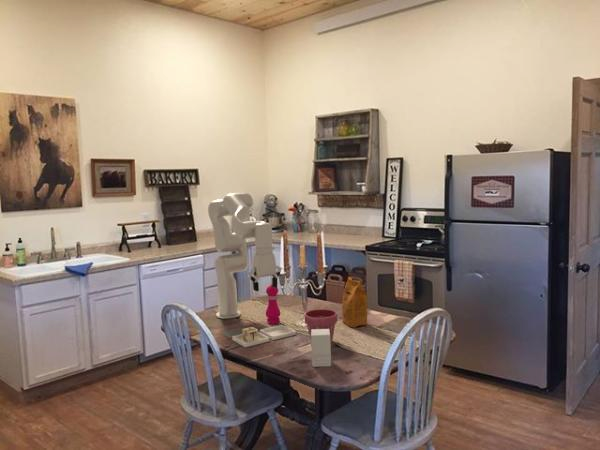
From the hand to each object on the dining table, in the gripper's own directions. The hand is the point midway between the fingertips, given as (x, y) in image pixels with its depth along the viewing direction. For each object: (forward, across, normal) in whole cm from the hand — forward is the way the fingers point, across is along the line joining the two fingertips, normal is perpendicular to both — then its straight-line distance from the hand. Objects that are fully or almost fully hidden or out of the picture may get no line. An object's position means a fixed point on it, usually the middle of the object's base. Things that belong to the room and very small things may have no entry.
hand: (265, 288), depth 229 cm
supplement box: (+23, 0, +39) cm, 45 cm away
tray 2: (+22, -5, 0) cm, 23 cm away
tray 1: (+22, +9, 0) cm, 24 cm away
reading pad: (+22, +8, -14) cm, 28 cm away
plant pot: (+22, -15, +20) cm, 34 cm away
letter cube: (+22, +9, 0) cm, 23 cm away
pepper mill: (+22, -14, -17) cm, 31 cm away
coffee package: (+23, -42, +11) cm, 49 cm away
